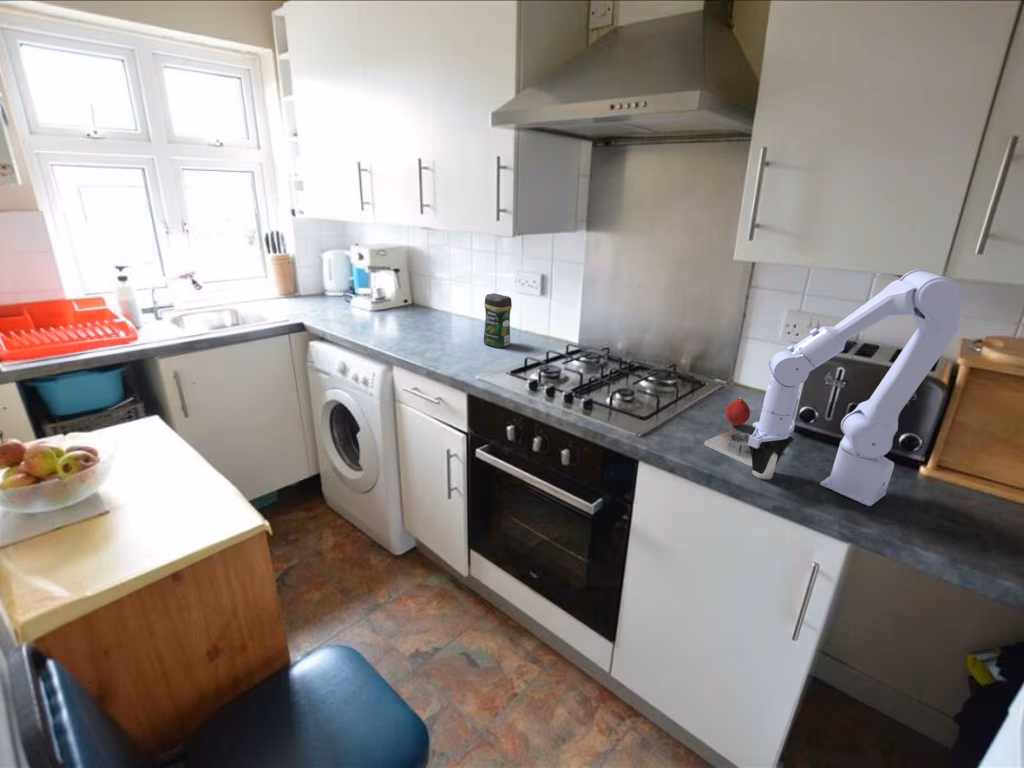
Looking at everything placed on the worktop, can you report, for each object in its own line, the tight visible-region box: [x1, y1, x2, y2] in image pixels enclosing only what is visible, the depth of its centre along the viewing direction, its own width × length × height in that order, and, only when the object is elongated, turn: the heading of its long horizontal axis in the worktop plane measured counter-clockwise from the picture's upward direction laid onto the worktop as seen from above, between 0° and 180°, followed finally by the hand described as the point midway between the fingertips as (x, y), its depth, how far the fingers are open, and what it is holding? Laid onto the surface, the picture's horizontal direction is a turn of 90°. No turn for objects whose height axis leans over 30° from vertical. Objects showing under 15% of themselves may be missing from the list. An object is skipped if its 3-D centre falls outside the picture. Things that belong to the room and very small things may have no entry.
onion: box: [724, 396, 751, 427], centre depth 132 cm, size 6×6×8 cm
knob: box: [751, 452, 778, 480], centre depth 110 cm, size 4×4×5 cm
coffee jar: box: [483, 292, 513, 349], centre depth 188 cm, size 10×8×19 cm
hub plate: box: [703, 428, 752, 468], centre depth 121 cm, size 12×12×2 cm
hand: (763, 468), depth 111 cm, fingers closed on knob, 4 cm apart
